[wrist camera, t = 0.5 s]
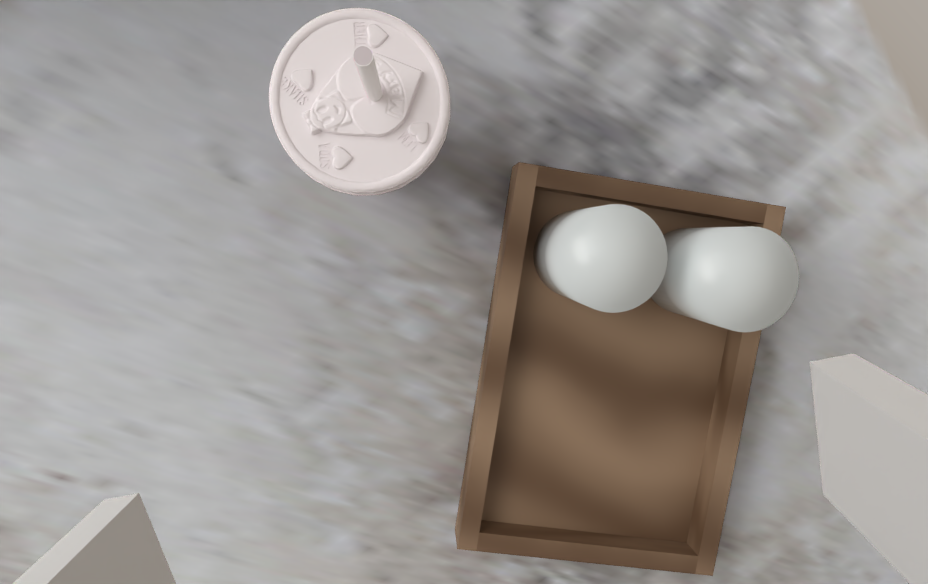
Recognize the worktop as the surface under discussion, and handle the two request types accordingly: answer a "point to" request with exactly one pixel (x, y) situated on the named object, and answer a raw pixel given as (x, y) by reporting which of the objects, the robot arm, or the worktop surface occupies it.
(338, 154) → the smoothie
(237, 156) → the worktop surface
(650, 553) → the tray
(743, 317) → the white domed cylinder
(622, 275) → the white rounded cylinder
